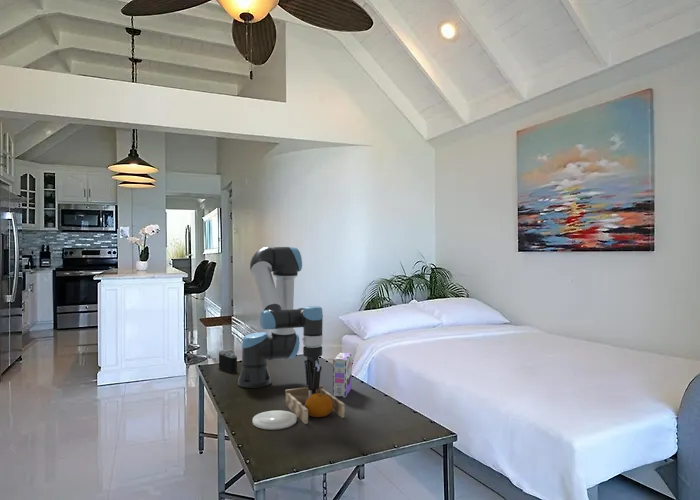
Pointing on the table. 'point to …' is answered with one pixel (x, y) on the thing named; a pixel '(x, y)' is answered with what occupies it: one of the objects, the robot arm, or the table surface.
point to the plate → (274, 420)
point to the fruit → (319, 405)
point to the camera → (228, 360)
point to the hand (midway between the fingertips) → (312, 405)
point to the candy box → (342, 374)
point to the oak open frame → (300, 396)
